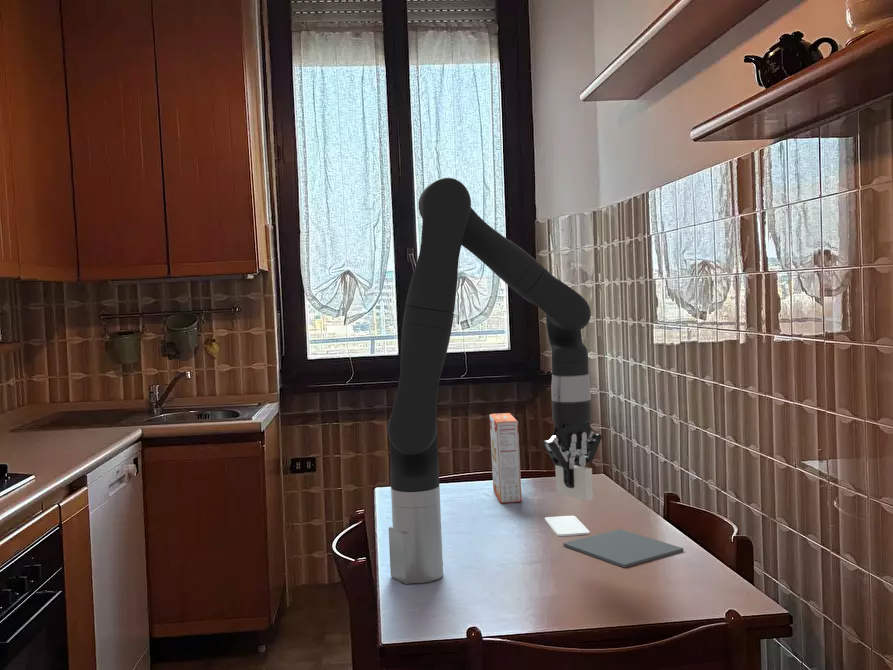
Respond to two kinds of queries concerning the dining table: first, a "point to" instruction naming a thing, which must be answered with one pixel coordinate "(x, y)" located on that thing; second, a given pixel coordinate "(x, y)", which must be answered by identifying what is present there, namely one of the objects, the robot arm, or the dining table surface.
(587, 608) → the dining table surface
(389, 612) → the dining table surface
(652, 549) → the mat
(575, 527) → the smartphone
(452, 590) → the dining table surface
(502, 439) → the cracker box
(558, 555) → the dining table surface
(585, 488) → the card box
